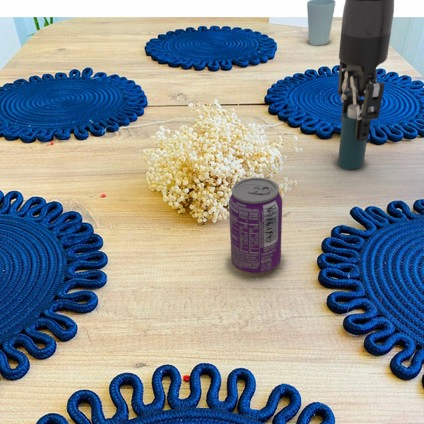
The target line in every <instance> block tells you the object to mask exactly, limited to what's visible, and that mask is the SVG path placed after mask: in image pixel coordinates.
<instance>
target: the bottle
mask: <svg viewBox="0 0 424 424" xmlns="http://www.w3.org/2000/svg"><path fill="white" fill-rule="evenodd" d="M362 109H363V105H362ZM356 121H357V108H356V106H355V105H354V104H352V105H349V106H348V112H345V113H344V114H343V116H342V123H341V127H340V136H339V137H340V139H339V147H338V157H337V165H338V167H340V168H342V169H344V170H358V169H360V168H363V167H364V164H365V157H366V150H367V149H366V148H367V141H368V139H367V140H363V141H356V139H355V129H356Z"/></svg>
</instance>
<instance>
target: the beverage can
mask: <svg viewBox="0 0 424 424" xmlns="http://www.w3.org/2000/svg"><path fill="white" fill-rule="evenodd" d="M228 216H229V218H228V219H229V233H230V234H229V237H230V259H231V263H232V265H233V266H234V267H235V268H236V269H237V270H240V271H242V272H244V273H249V274H263V273H268V272H270V271H272V270H274V269H275V268H277V267H278V266H279V264H280V263H281V261H282V229H283V227H282V226H283V198H282V196H281V194H280V187H279V185H278V183H277V182H275V181H273V180H272V179H270V178H266V177H247V178H243V179H241V180H238V181H237V182H235V183H234V184H233V186H232V187H231V195H230V197H229V200H228Z"/></svg>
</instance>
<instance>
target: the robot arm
mask: <svg viewBox="0 0 424 424" xmlns="http://www.w3.org/2000/svg"><path fill="white" fill-rule="evenodd" d="M394 12H395V0H344V6H343V10H342V17H341V28H340V29H341V30H340V40H339V49H338V59H339V69H338V70H339V71H338V86H337V87H338V88H337V94H338V96H340V101H341V103H342V108H341V114H340V115H341V116H340V123H341V124H342V116H343V114H344V113H345V112H348V106H349V105H352V104H354V105H355V106H356V108H357V121H356V129H355V139H356V141H363V140H367V141H368V139H369V136H370V129H371V121H372V120H378V119H379V117H380V111H381V106H382V101H383V96H384V91H385V83H384V82H383V81H381V82H378V80H377V68H378V66H379V65H381V64H383V63H385V62H386V61H387V59H388V55H389V49H390V41H391V35H392V27H393V21H394ZM361 98H362V99H361ZM362 105H363V109H362Z"/></svg>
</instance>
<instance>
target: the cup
mask: <svg viewBox="0 0 424 424" xmlns="http://www.w3.org/2000/svg"><path fill="white" fill-rule="evenodd" d="M306 8H307V11H306V12H307V29H308V31H307V32H308V43H309V45H313V46H324V45H326V44H328V43H329V42H330V36H331V30H332V24H333V18H334V13H335V8H336V0H308V1H307V2H306Z"/></svg>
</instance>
